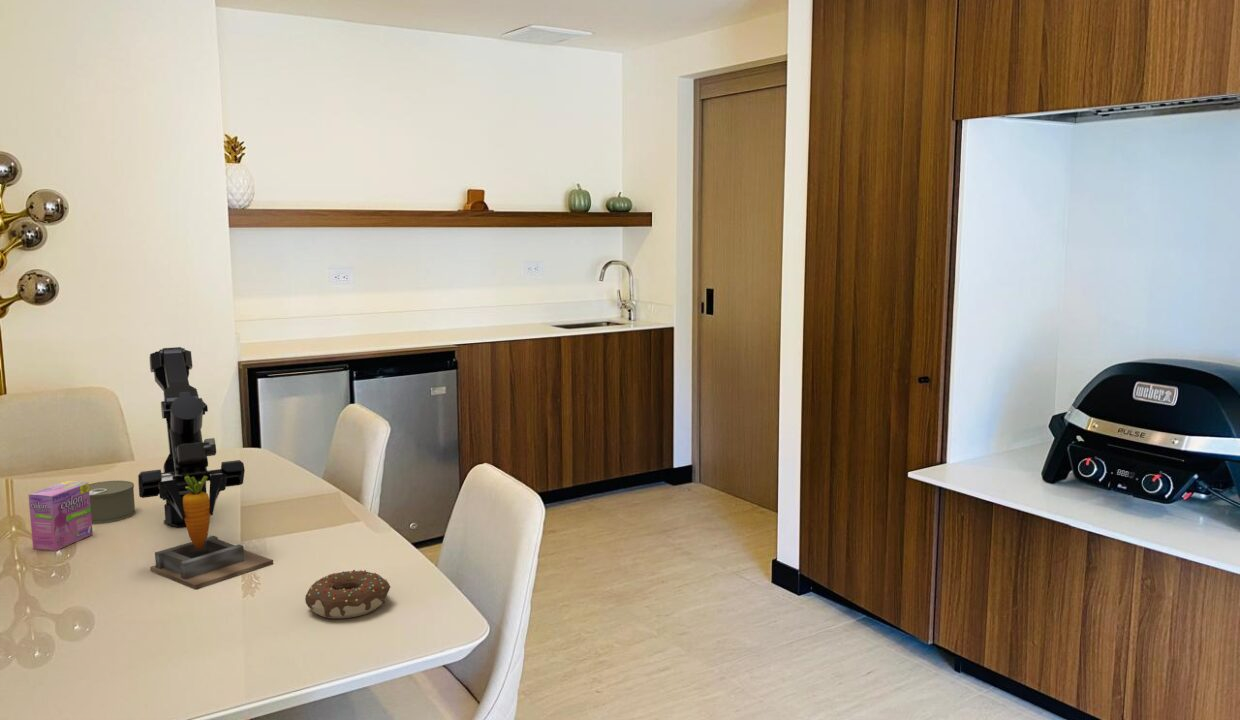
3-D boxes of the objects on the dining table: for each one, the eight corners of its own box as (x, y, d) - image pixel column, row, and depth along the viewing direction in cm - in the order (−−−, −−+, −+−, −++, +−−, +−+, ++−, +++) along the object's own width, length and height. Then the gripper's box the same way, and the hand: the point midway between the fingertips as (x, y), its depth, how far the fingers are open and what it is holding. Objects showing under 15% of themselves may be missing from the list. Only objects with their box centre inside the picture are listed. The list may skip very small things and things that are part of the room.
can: (147, 509, 220) (145, 481, 219) (115, 525, 208) (112, 495, 207) (99, 508, 221) (96, 479, 220) (64, 524, 209) (61, 494, 208)
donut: (345, 630, 154) (344, 601, 153) (290, 612, 161) (288, 584, 160) (408, 600, 166) (407, 573, 165) (354, 585, 173) (352, 559, 172)
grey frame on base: (227, 547, 193) (226, 529, 192) (273, 563, 184) (272, 545, 183) (150, 570, 180) (148, 551, 180) (195, 589, 171) (194, 569, 170)
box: (56, 551, 191) (51, 495, 190) (32, 549, 192) (27, 493, 191) (94, 535, 201) (89, 481, 200) (71, 533, 202) (66, 480, 201)
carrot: (216, 545, 184) (212, 470, 182) (208, 553, 179) (203, 477, 177) (190, 546, 183) (185, 471, 181) (181, 554, 178) (176, 478, 176)
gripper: (134, 430, 176) (142, 502, 169) (240, 420, 186) (252, 488, 178) (135, 462, 184) (143, 532, 177) (236, 450, 193) (248, 516, 186)
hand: (197, 516), depth 179 cm, fingers closed on carrot, 5 cm apart
